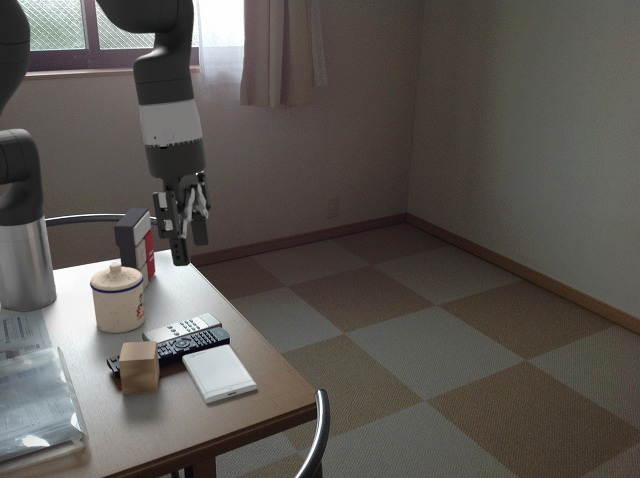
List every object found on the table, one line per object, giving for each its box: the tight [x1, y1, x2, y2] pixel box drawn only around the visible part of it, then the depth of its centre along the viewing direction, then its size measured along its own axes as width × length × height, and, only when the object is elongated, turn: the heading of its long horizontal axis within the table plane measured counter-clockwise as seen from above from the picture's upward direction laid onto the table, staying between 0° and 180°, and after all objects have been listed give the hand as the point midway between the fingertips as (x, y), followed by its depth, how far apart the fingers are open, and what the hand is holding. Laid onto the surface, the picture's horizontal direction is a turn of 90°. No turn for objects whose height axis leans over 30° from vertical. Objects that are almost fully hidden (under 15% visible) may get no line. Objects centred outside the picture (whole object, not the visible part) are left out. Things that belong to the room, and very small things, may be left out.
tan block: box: [118, 340, 160, 395], centre depth 91 cm, size 5×5×6 cm
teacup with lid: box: [89, 262, 146, 334], centre depth 108 cm, size 12×9×12 cm
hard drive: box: [182, 344, 258, 404], centre depth 94 cm, size 2×8×12 cm
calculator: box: [113, 207, 156, 292], centre depth 120 cm, size 11×4×15 cm, turn 179°
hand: (193, 254), depth 81 cm, fingers open, 8 cm apart
